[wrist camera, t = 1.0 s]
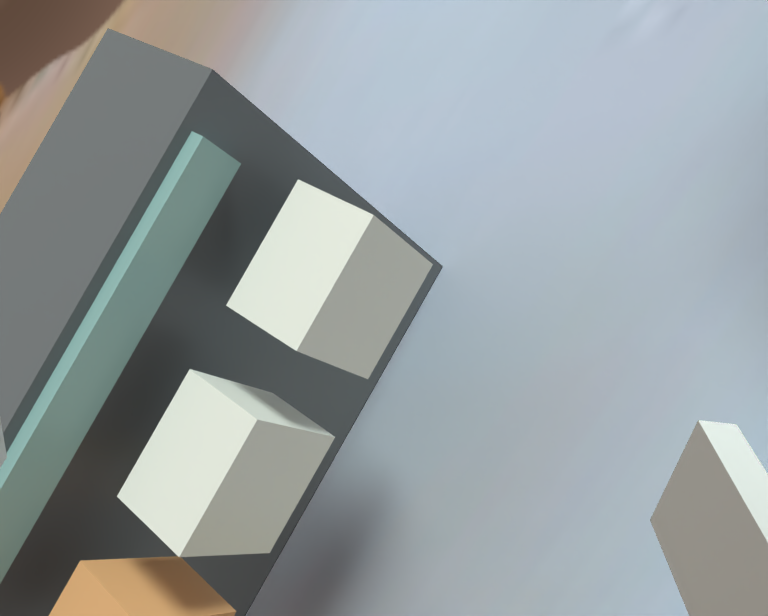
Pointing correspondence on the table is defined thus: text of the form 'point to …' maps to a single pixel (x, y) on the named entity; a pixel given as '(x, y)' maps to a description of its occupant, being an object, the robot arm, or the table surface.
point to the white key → (330, 281)
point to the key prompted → (139, 590)
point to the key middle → (224, 468)
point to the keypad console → (142, 309)
